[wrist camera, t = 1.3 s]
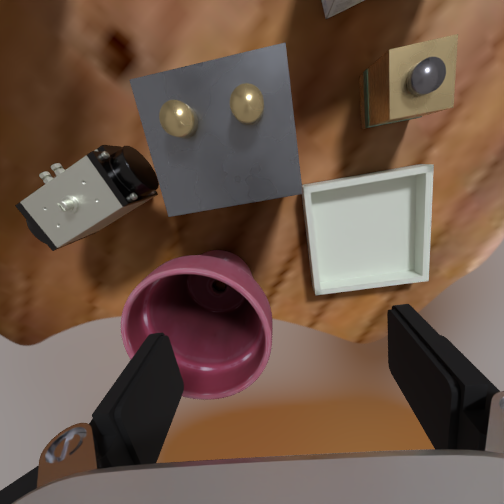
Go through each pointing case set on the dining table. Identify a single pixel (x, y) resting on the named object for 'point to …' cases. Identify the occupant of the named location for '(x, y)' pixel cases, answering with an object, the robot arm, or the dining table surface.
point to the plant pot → (204, 321)
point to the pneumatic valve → (88, 195)
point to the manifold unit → (221, 131)
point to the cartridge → (409, 82)
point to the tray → (369, 229)
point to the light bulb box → (337, 6)
